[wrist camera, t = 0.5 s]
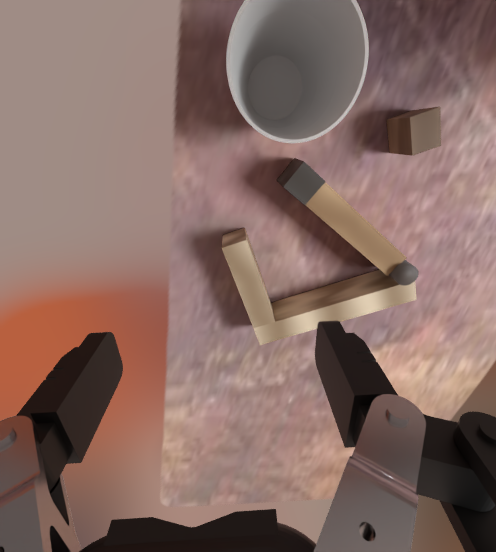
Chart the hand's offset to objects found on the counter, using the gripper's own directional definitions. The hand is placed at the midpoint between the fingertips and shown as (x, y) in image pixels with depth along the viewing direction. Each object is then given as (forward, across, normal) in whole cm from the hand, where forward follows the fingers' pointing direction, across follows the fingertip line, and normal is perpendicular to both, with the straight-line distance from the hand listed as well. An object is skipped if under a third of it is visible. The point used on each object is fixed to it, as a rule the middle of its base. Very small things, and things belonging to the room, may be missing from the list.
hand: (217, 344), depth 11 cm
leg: (+21, -12, +1) cm, 24 cm away
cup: (+21, -5, -11) cm, 24 cm away
